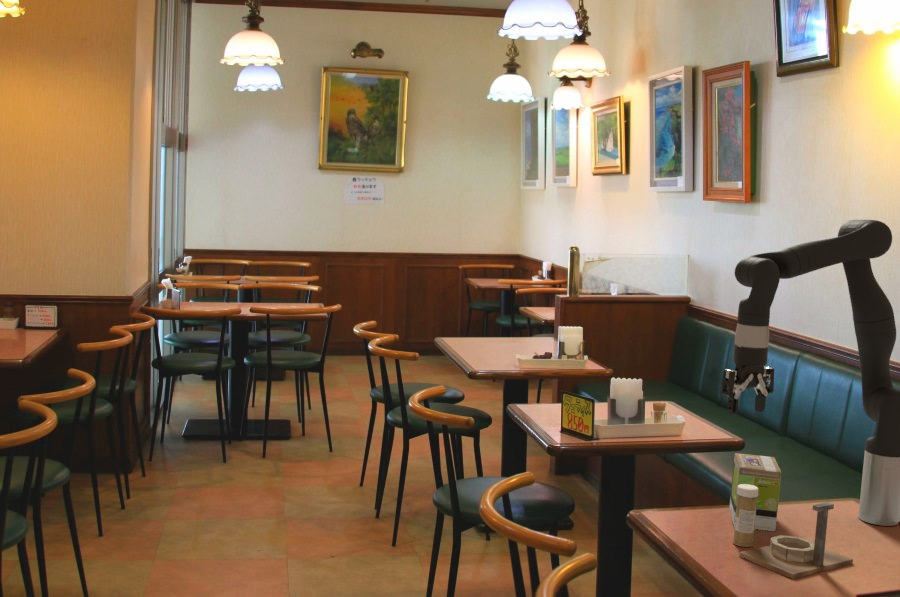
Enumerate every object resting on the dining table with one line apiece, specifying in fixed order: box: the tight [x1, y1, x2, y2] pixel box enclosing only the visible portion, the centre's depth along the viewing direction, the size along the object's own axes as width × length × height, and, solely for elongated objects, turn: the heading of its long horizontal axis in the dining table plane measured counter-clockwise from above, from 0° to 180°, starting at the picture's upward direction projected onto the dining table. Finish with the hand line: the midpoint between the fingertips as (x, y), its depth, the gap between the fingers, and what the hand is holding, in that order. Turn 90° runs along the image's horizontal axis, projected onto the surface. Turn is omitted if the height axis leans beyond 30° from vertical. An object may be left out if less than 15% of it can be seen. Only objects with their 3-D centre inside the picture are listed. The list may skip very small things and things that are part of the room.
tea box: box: [729, 452, 782, 532], centre depth 244 cm, size 15×10×15 cm, turn 168°
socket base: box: [739, 501, 854, 580], centre depth 218 cm, size 20×14×14 cm
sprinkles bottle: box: [732, 484, 758, 548], centre depth 226 cm, size 5×5×14 cm
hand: (746, 412), depth 234 cm, fingers open, 8 cm apart
